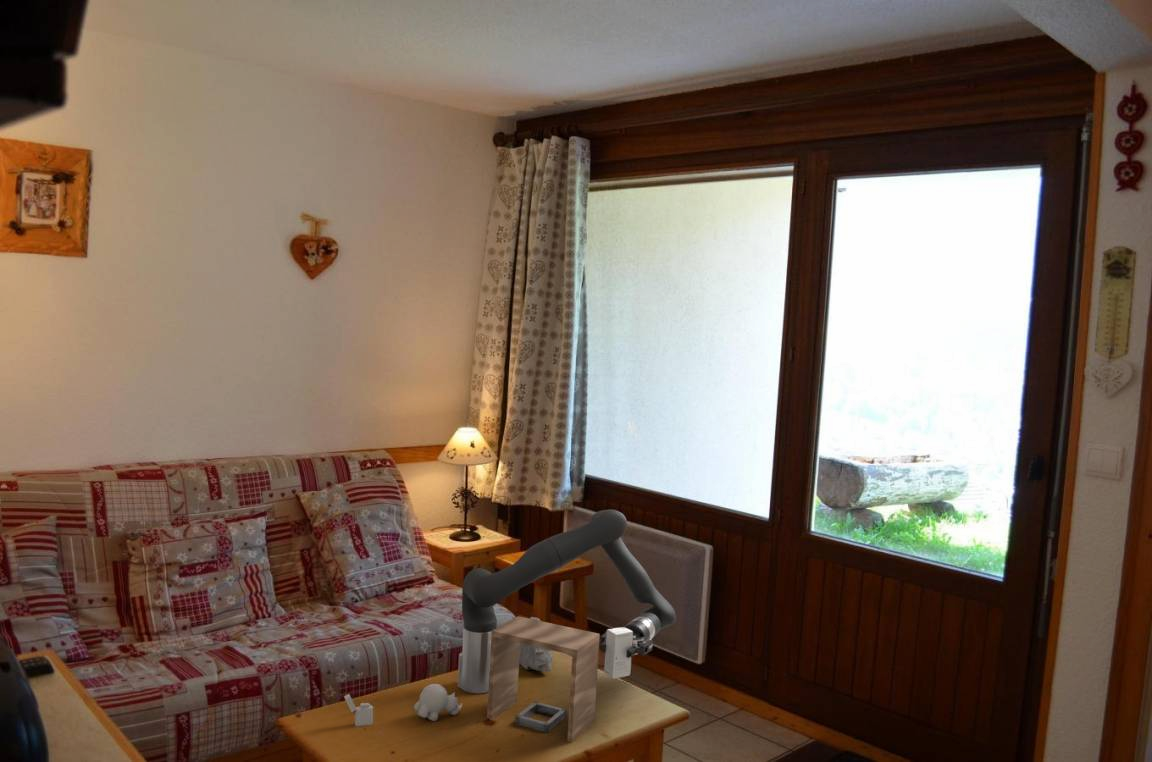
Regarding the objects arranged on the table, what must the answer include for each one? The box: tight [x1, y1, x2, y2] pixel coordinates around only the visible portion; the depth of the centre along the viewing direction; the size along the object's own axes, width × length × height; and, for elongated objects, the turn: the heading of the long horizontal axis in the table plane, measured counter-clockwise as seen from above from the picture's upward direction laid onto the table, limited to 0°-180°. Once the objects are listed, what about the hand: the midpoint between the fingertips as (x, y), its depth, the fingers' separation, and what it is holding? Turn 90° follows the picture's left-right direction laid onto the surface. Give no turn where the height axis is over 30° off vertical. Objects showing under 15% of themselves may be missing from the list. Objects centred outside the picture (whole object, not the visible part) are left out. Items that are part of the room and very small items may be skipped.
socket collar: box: [514, 701, 567, 734], centre depth 233 cm, size 9×11×2 cm
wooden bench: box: [486, 615, 601, 744], centre depth 232 cm, size 24×14×24 cm, turn 65°
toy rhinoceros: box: [413, 683, 463, 722], centre depth 231 cm, size 7×12×8 cm, turn 114°
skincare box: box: [603, 626, 633, 680], centre depth 239 cm, size 6×4×12 cm
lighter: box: [343, 693, 374, 727], centre depth 224 cm, size 7×2×8 cm, turn 113°
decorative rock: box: [519, 616, 554, 672], centre depth 268 cm, size 16×7×15 cm, turn 31°
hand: (615, 651), depth 237 cm, fingers closed on skincare box, 6 cm apart
